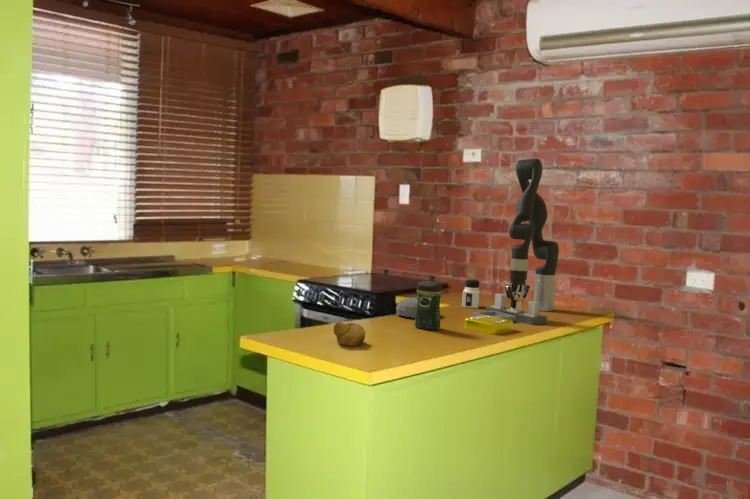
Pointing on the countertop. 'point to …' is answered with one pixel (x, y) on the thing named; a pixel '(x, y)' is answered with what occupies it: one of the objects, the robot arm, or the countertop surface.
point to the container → (471, 294)
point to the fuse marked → (518, 305)
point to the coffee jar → (428, 305)
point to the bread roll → (349, 333)
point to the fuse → (533, 308)
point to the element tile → (488, 324)
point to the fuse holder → (520, 315)
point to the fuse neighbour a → (500, 300)
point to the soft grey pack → (407, 307)
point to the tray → (496, 315)
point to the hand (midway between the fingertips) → (515, 307)
